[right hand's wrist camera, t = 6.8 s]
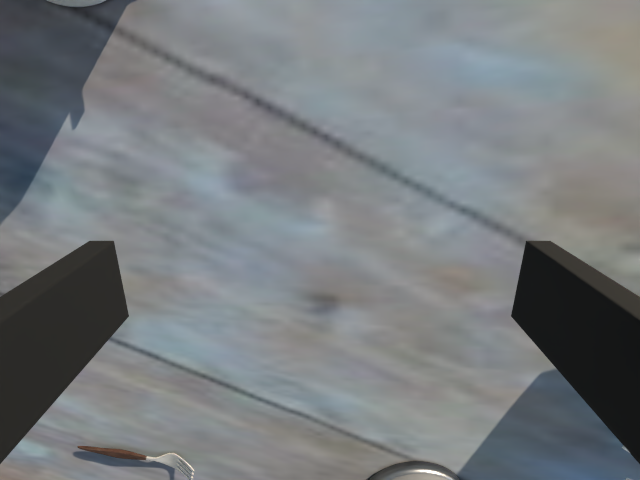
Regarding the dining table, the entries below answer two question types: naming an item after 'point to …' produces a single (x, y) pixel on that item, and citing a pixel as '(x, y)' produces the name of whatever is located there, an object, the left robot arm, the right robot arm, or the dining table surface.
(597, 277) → the right robot arm
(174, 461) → the fork
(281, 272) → the dining table surface
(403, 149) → the dining table surface
